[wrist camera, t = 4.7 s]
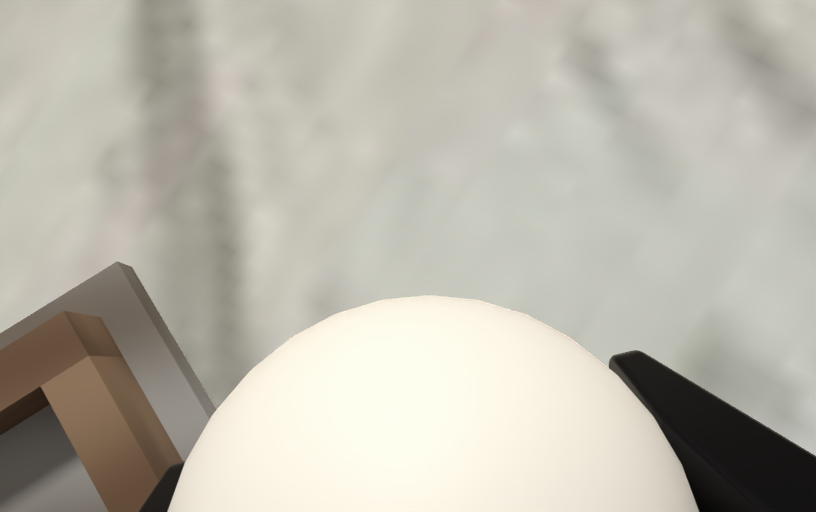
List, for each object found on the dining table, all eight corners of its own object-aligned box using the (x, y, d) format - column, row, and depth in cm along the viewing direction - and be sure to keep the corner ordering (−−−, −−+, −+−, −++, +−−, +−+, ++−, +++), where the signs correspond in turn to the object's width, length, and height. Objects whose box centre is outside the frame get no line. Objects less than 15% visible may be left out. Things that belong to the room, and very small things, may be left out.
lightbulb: (424, 654, 14) (444, 1517, 4) (249, 459, 15) (-165, 669, 4) (600, 461, 15) (1063, 683, 4) (423, 286, 16) (435, 102, 5)
